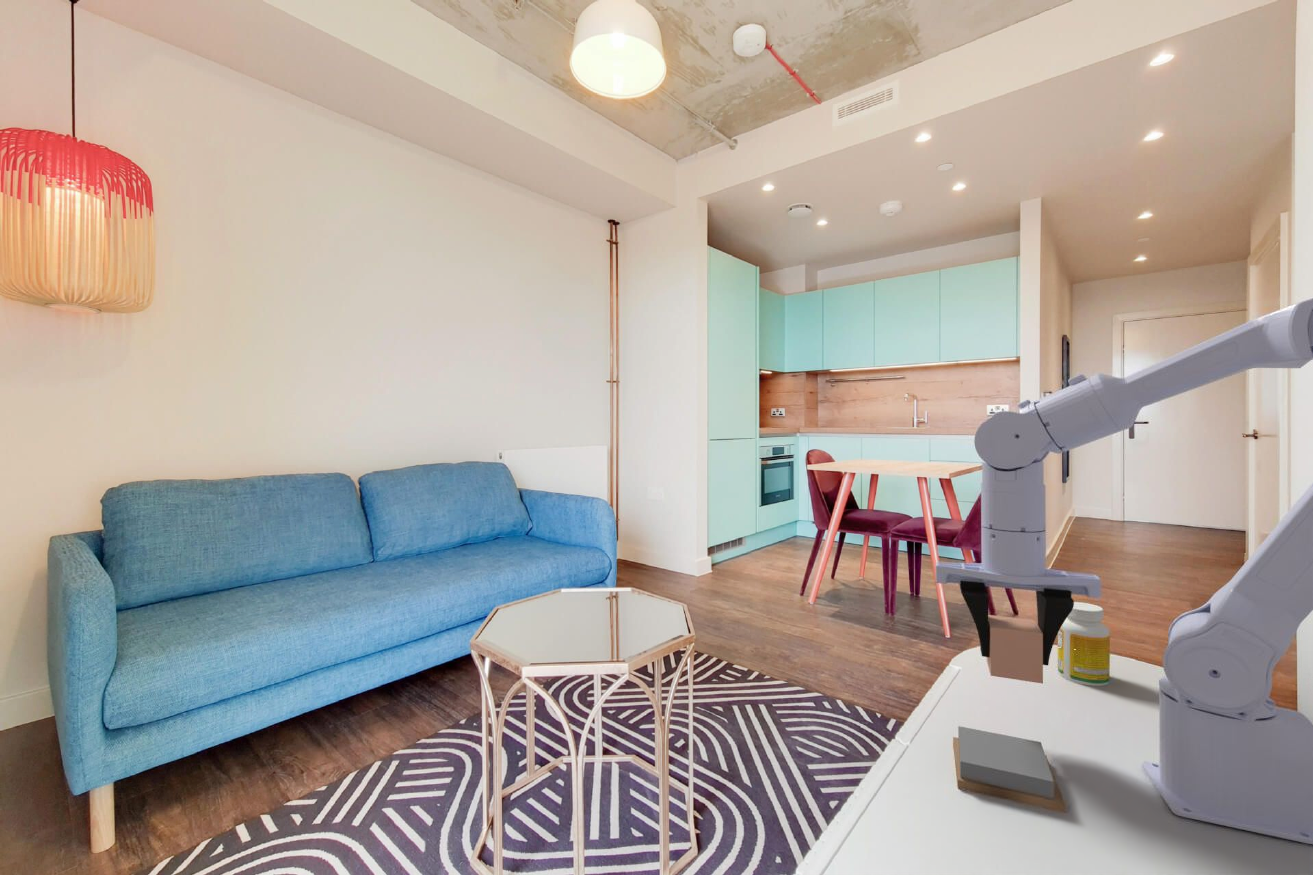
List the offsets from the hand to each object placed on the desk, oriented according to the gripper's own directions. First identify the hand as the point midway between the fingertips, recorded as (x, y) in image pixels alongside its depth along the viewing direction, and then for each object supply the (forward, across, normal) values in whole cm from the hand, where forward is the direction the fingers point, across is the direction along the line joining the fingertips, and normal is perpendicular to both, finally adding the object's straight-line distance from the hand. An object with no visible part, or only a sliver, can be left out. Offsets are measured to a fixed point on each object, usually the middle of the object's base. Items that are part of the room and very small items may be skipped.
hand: (1013, 657), depth 59 cm
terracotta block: (+1, 0, 0) cm, 1 cm away
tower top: (+8, +2, +8) cm, 11 cm away
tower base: (+9, +2, +8) cm, 12 cm away
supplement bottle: (+9, -10, -20) cm, 24 cm away
